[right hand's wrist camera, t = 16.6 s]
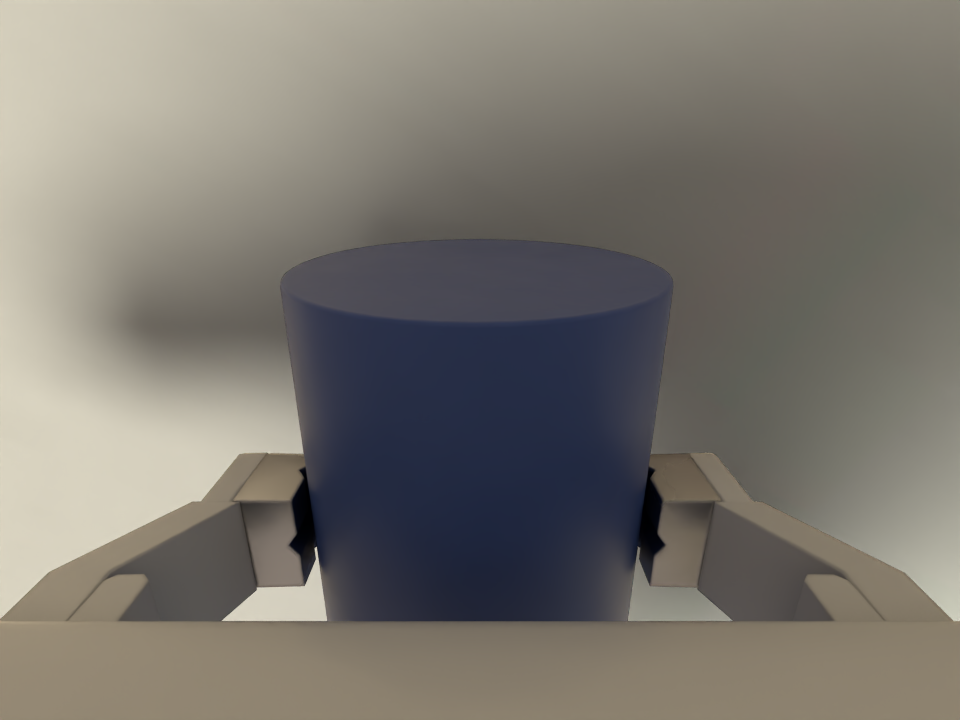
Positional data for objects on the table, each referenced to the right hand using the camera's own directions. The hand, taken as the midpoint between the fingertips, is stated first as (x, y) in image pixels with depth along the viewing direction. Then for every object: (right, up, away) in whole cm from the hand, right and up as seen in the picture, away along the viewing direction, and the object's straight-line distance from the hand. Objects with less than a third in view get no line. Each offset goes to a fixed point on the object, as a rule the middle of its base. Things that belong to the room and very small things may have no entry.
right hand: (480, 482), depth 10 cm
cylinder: (0, -7, +6) cm, 9 cm away
